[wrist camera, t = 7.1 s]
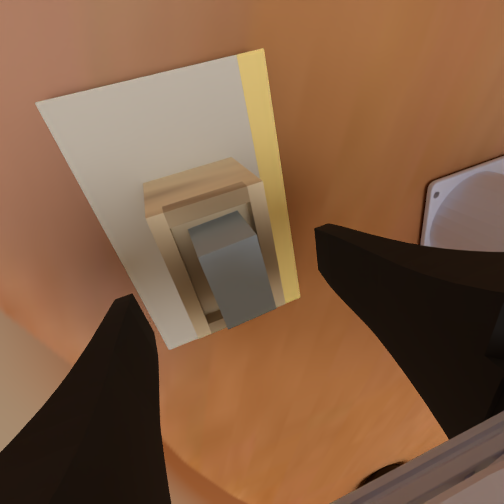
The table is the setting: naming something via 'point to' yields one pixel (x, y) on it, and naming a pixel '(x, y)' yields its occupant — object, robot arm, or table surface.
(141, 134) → the dock
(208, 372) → the table surface
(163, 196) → the tan hollow block
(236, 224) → the grey square prism
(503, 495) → the robot arm
